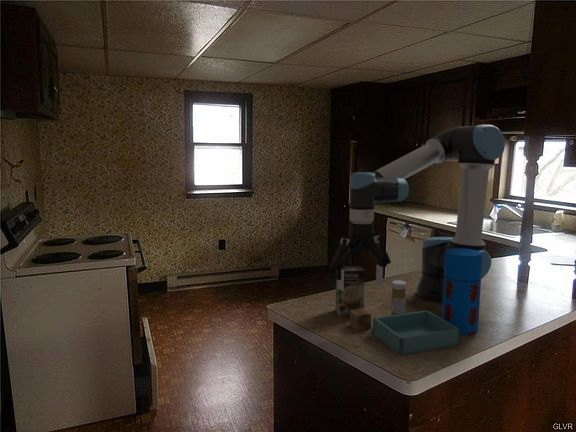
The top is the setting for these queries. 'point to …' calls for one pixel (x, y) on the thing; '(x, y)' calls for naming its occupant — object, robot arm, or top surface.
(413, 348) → the tote
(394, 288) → the sprinkles bottle
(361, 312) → the walnut cube
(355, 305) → the coffee box
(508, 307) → the top surface
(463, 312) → the thermos
